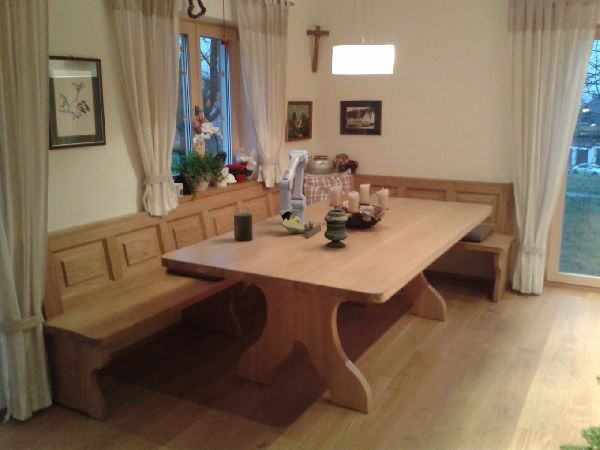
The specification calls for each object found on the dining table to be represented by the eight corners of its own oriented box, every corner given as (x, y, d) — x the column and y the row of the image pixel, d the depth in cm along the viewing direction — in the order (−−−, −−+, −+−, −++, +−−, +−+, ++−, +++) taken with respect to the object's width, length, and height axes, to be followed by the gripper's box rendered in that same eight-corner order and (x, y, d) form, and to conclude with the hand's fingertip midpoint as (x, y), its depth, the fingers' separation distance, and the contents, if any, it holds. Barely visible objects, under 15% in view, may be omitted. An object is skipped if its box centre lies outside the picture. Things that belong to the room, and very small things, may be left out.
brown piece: (313, 229, 325) (313, 219, 323) (321, 230, 323) (321, 220, 322) (300, 237, 307) (300, 226, 305) (308, 238, 305) (308, 227, 304)
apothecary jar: (328, 249, 283) (328, 213, 279) (321, 243, 294) (321, 209, 290) (351, 247, 286) (351, 212, 282) (343, 241, 297) (343, 207, 293)
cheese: (304, 233, 325) (283, 217, 324) (311, 225, 321) (290, 208, 320) (296, 247, 313) (275, 230, 311) (304, 239, 309) (282, 222, 307)
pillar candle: (249, 242, 298) (249, 213, 295) (231, 241, 300) (231, 213, 297) (254, 238, 307) (254, 210, 304) (237, 237, 309) (236, 209, 306)
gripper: (284, 198, 324) (284, 222, 327) (273, 202, 311) (274, 227, 314) (295, 199, 322) (296, 222, 325) (285, 203, 309) (286, 228, 312)
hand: (286, 225), depth 319 cm, fingers closed
